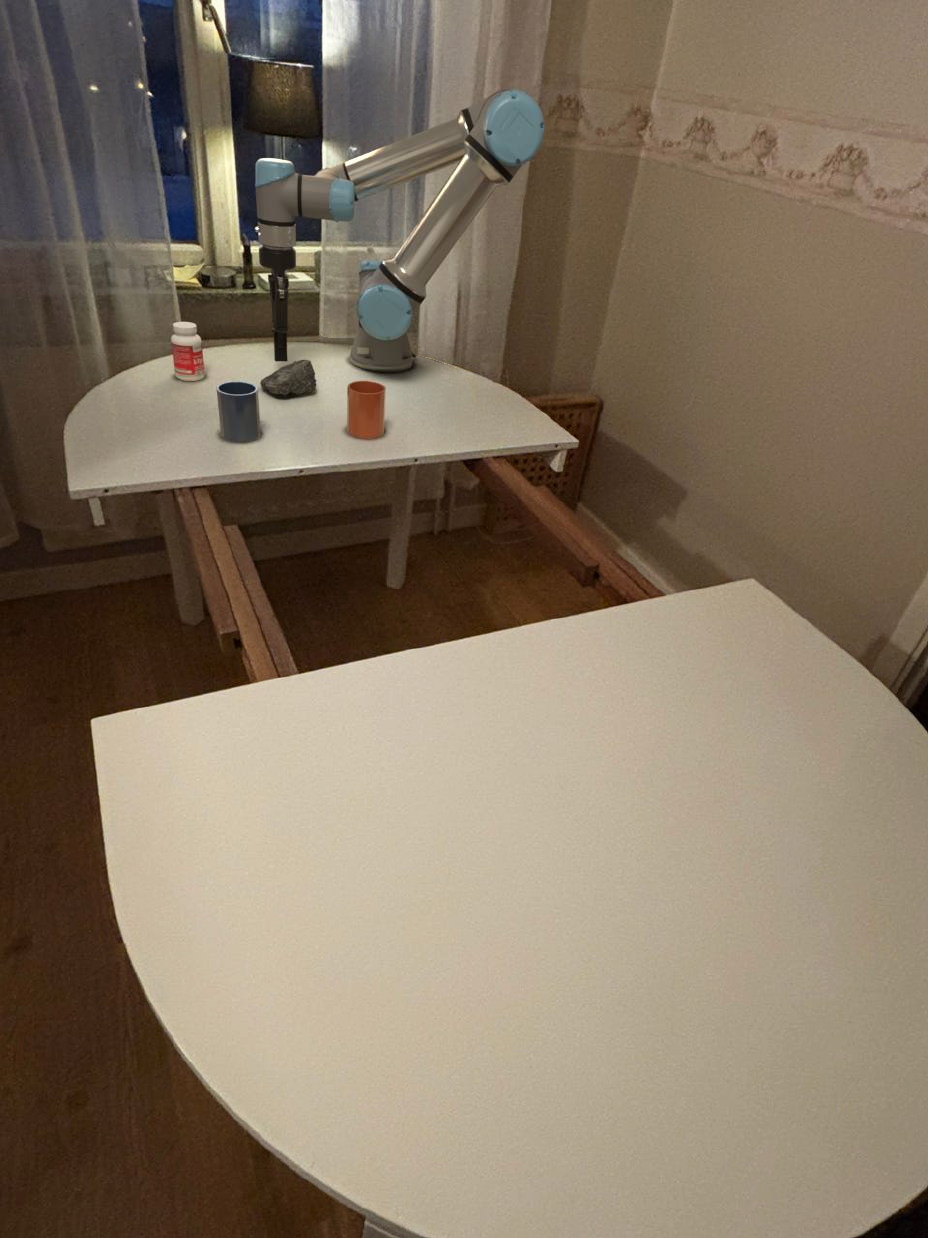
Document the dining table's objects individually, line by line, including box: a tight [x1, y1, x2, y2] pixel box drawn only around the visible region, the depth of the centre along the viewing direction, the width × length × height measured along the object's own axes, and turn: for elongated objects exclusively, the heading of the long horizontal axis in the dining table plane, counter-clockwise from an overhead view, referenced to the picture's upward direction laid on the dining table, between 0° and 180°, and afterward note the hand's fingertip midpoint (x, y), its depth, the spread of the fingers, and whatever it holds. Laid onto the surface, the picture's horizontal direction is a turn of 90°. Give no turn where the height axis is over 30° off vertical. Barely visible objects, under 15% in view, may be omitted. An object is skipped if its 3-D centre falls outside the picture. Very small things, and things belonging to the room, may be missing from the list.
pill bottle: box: [170, 321, 206, 382], centre depth 158 cm, size 6×6×11 cm
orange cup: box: [346, 380, 387, 440], centre depth 145 cm, size 7×7×9 cm
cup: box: [216, 380, 262, 444], centre depth 137 cm, size 7×7×9 cm
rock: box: [260, 359, 317, 396], centre depth 158 cm, size 9×11×6 cm
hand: (281, 360), depth 167 cm, fingers closed
